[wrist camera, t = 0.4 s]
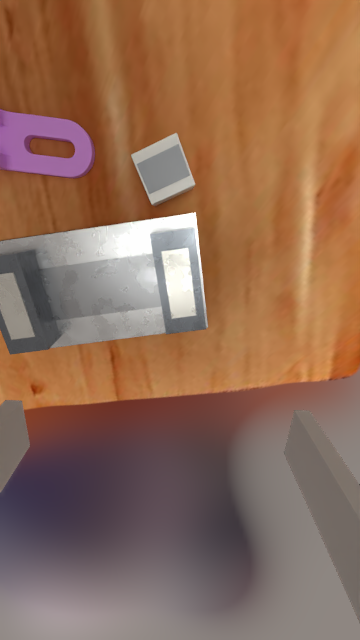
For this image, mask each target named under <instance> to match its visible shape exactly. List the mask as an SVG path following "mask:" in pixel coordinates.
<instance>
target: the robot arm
mask: <svg viewBox="0 0 360 640" xmlns="http://www.w3.org/2000/svg"><path fill="white" fill-rule="evenodd" d="M29 446H30V443H29V438H28V433H27V427H26V421H25V415H24V410H23V404H22V401H16V400H5V401H4V402H3V403H2V404H1V406H0V492H1V491H2V489H3V488H4V486H5V484H6V483H7V481H8V480H9V478H10V476H11V475H12V473H13V472H14V470H15V468H16V467H17V465H18V463H19V462H20V460H21V458H22V457H23V456H24V454H25V453H26V451H27V449H28V448H29ZM284 454H285V456H286V459H287V461H288V463H289V465H290V468H291V470H292V472H293V474H294V477H295V479H296V481H297V483H298V486H299V488H300V490H301V492H302V495H303V497H304V499H305V501H306V504H307V506H308V508H309V510H310V512H311V515H312V517H313V519H314V521H315V524H316V526H317V528H318V530H319V533H320V535H321V537H322V539H323V542H324V544H325V546H326V548H327V550H328V553H329V555H330V557H331V559H332V562H333V564H334V566H335V568H336V571H337V573H338V575H339V577H340V580H341V582H342V584H343V586H344V589H345V591H346V593H347V595H348V597H349V600H350V602H351V604H352V607H353V609H354V611H355V613H356V615H357V618H358V620H359V622H360V484H359V483H358V482H357V480H356V479H355V477H354V476H353V474H352V473H351V471H350V470H349V468H348V467H347V465H346V464H345V462H344V461H343V459H342V458H341V456H340V455H339V453H338V452H337V450H336V449H335V447H334V446H333V445H332V443H331V442H330V440H329V439H328V437H327V436H326V434H325V433H324V431H323V430H322V428H321V427H320V426H319V424H318V423H317V421H316V419H315V418H314V416H313V415H312V413H311V412H310V411H301V410H295V411H294V414H293V418H292V423H291V426H290V431H289V435H288V439H287V443H286V447H285V451H284Z"/></svg>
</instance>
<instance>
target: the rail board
mask: <svg viewBox="0 0 360 640" xmlns="http://www.w3.org/2000/svg"><path fill="white" fill-rule="evenodd" d="M206 328H208V323H207V314H206V304H205V295H204V286H203V277H202V268H201V259H200V249H199V240H198V231H197V222H196V213H191V214H184V215H177V216H170V217H164V218H157V219H150V220H143V221H136V222H129V223H122V224H115V225H108V226H101V227H95V228H88V229H81V230H74V231H67V232H60V233H53V234H46V235H39V236H32V237H26V238H19V239H12V240H5V241H0V330H1V332H2V335H3V337H4V340H5V342H6V345H7V348H8V350H9V353H10V354H17V353H25V352H32V351H40V350H48V349H49V348H54V347H62V346H70V345H77V344H85V343H93V342H101V341H108V340H116V339H124V338H131V337H139V336H147V335H155V334H162V333H166V334H171V333H179V332H187V331H194V330H202V329H206Z"/></svg>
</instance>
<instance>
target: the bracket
mask: <svg viewBox="0 0 360 640" xmlns="http://www.w3.org/2000/svg"><path fill="white" fill-rule="evenodd" d="M33 138H43V139H51V140H59V141H66V142H72V143H73V144H74V146H75V154H74V156H73V157H71V158H60V157H52V156H44V155H36V154H33V153H32V152H31V150H30V147H29V144H30V141H31V140H32V139H33ZM94 160H95V149H94V145H93V142H92V140H91V138H90V136H89V135H88V133H87V132H86V131H85V130H84V129H83V128H82V127H81V126H80V125H78V124H77V123H75V122H73V121H71V120H67V119H60V118H52V117H45V116H37V115H30V114H22V113H14V112H8V111H4V110H1V109H0V169H1V170H9V171H17V172H26V173H34V174H42V175H50V176H58V177H66V178H79V177H82V176H84V175H86V174H87V173H88V172H89V171H90V169H91V168H92V166H93V163H94Z"/></svg>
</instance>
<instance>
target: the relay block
mask: <svg viewBox="0 0 360 640" xmlns="http://www.w3.org/2000/svg"><path fill="white" fill-rule="evenodd" d="M131 157H132V159H133V162H134V164H135V166H136V169H137V171H138V173H139V176H140V178H141V181H142V183H143V185H144V188H145V190H146V192H147V195H148V197H149V200H150V202H151V204H152V205H154V206H156V205H159V204H161V203H163V202H165V201H167V200H169V199H172V198H174V197H176V196H178V195H180V194H183V193H185V192H187V191H189V190H191V189H193V188H194V186H195V182H194V179H193V177H192V174H191V171H190V168H189V166H188V163H187V160H186V157H185V154H184V152H183V149H182V146H181V143H180V141H179V138H178V135H177V133H175V134H173V135H171V136H169V137H167V138H165V139H163V140H160V141H158V142H156V143H154V144H152V145H150V146H148V147H146V148H144V149H142V150H140V151H138V152H136V153H134V154H132V155H131Z"/></svg>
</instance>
